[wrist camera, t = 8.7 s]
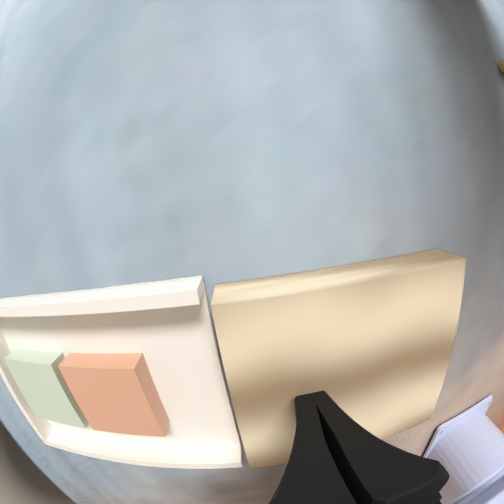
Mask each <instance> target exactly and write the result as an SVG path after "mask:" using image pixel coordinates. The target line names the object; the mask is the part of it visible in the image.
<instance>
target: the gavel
mask: <svg viewBox="0 0 504 504" xmlns="http://www.w3.org/2000/svg"><path fill="white" fill-rule="evenodd" d="M499 68H500V70H501V71H502V72H503V73H504V62H500V63H499Z"/></svg>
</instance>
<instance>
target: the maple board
mask: <svg viewBox="0 0 504 504" xmlns="http://www.w3.org/2000/svg"><path fill="white" fill-rule="evenodd" d="M465 264H466V259H465V258H462V257H459V256H456V255H453V254H450V253H447V252H445V251H442V250H439V249H434V250H429V251H423V252H418V253H413V254H407V255H402V256H396V257H390V258H385V259H379V260H373V261H367V262H362V263H356V264H350V265H343V266H337V267H331V268H325V269H318V270H312V271H305V272H299V273H292V274H285V275H279V276H272V277H265V278H258V279H250V280H243V281H236V282H228V283H220V284H216V285H215V289H214V293H213V298H212V302H211V309H212V314H213V319H214V324H215V329H216V334H217V339H218V343H219V348H220V353H221V357H222V362H223V366H224V370H225V375H226V379H227V383H228V388H229V392H230V396H231V400H232V404H233V408H234V412H235V416H236V420H237V423H238V427H239V431H240V435H241V438H242V442H243V446H244V449H245V453H246V456H247V460H248V463H249V467H250V468H260V467H268V466H276V465H283V464H288V461H289V458H290V454H291V450H292V446H293V442H294V436H295V430H296V412H295V397H296V396H299V395H304V394H309V393H314V392H319V391H323V390H324V391H325V392H326V393H327V394H328V395H329V396H330V397H331V398H332V400H333V401H334V402H335V403H336V404H337V405H338V406H339V407H340V408H341V409H342V410H343V411H344V412H345V413H346V414H347V415H349V416H350V417H351V418H352V419H353V420H354V421H355V422H357V423H358V424H359V425H360V426H362V427H363V428H364V429H366V430H367V431H368V432H370V433H371V434H373V435H374V436H376V437H378V438H379V439H384V438H387V437H389V436H392V435H395V434H397V433H400V432H402V431H404V430H407V429H409V428H412V427H414V426H416V425H418V424H421V423H423V422H425V421H427V420H429V419H431V416H432V414H433V411H434V408H435V406H436V403H437V400H438V397H439V394H440V391H441V388H442V385H443V382H444V378H445V375H446V372H447V368H448V364H449V361H450V357H451V353H452V349H453V344H454V340H455V335H456V330H457V325H458V320H459V314H460V308H461V301H462V294H463V286H464V276H465Z"/></svg>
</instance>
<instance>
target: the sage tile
mask: <svg viewBox="0 0 504 504" xmlns="http://www.w3.org/2000/svg"><path fill="white" fill-rule="evenodd" d="M64 358H65V356H64V354H63V352H52V351H37V350H26V349H16V348H15V349H14V350H13V351H12V352H11V353H10V354H8V355H7V356H6V357H5V358H4V360H5V362H6V364H7V366H8V368H9V370H10V372H11V374H12V376H13V378H14V380H15V382H16V384H17V386H18V387H19V389H20V391H21V393H22V394H23V396H24V398H25V400H26V401H27V403H28V405H29V406H30V408H31V409H32V411H33V413H34V414H35V416H36V417H39V418H43V419H46V420H50V421H54V422H58V423H63V424H67V425H72V426H77V427H82V428H86V427H87V425H88V424H89V422H88V421H87V419H86V417H85V416H84V414H83V413H82V411H81V409H80V407H79V406H78V404H77V402H76V400H75V399H74V397H73V395H72V393H71V391H70V389H69V387H68V386H67V384H66V382H65V380H64V378H63V376H62V374H61V371H60V369H59V367H58V365H59V364H60V363H61V362H62V361H63V360H64Z"/></svg>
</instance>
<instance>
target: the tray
mask: <svg viewBox="0 0 504 504" xmlns="http://www.w3.org/2000/svg"><path fill="white" fill-rule="evenodd" d="M15 348H16V349H26V350H37V351H52V352H63V354H64V356H65V357H66V356H67V355H68V354H69V353H143V355H144V358H145V361H146V363H147V366H148V369H149V372H150V374H151V377H152V379H153V382H154V385H155V387H156V390H157V392H158V395H159V397H160V399H161V402H162V404H163V406H164V409H165V411H166V413H167V415H168V418H169V423H168V427H167V431H166V435H165V437H158V436H142V435H130V434H121V433H112V432H105V431H98V430H93V429H92V427H91V425H90V424H88V425H87V427H86V428H82V427H77V426H72V425H67V424H63V423H58V422H54V421H50V420H46V419H43V418H39V417H36V416H35V414H34V413H33V411H32V409H31V408H30V406H29V405H28V403H27V401H26V400H25V398H24V396H23V394H22V393H21V391H20V389H19V387H18V386H17V384H16V382H15V380H14V378H13V376H12V374H11V372H10V370H9V368H8V366H7V364H6V362H5V360H4V358H5V357H6V356H7V355H8V354H10V353H11V352H12V351H13V350H14V349H15ZM0 374H1V376H2V378H3V380H4V382H5V384H6V385H7V387H8V389H9V391H10V392H11V394H12V396H13V398H14V399H15V401H16V403H17V404H18V406H19V407H20V409H21V411H22V412H23V414H24V415H25V417H26V418H27V420H28V421H29V423H30V424H31V426H32V427H33V428H34V430H35V431H36V433H37V434H38V435H39V437H40V438H41V439H42V441H43V442H44V443H45V444H46V445H49V446H52V447H56V448H59V449H62V450H66V451H69V452H73V453H77V454H81V455H85V456H89V457H94V458H99V459H104V460H109V461H114V462H121V463H127V464H134V465H143V466H152V467H165V468H185V469H216V468H236V467H243V465H242V444H241V440H240V437H239V433H238V429H237V426H236V422H235V418H234V414H233V411H232V407H231V403H230V399H229V395H228V391H227V387H226V383H225V378H224V374H223V370H222V366H221V361H220V357H219V352H218V348H217V343H216V339H215V334H214V329H213V324H212V320H211V315H210V310H209V305H208V299H207V294H206V289H205V284H204V278H203V275H200V276H192V277H184V278H176V279H168V280H160V281H152V282H144V283H135V284H127V285H118V286H109V287H100V288H91V289H82V290H73V291H63V292H54V293H44V294H34V295H23V296H13V297H1V298H0Z"/></svg>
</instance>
